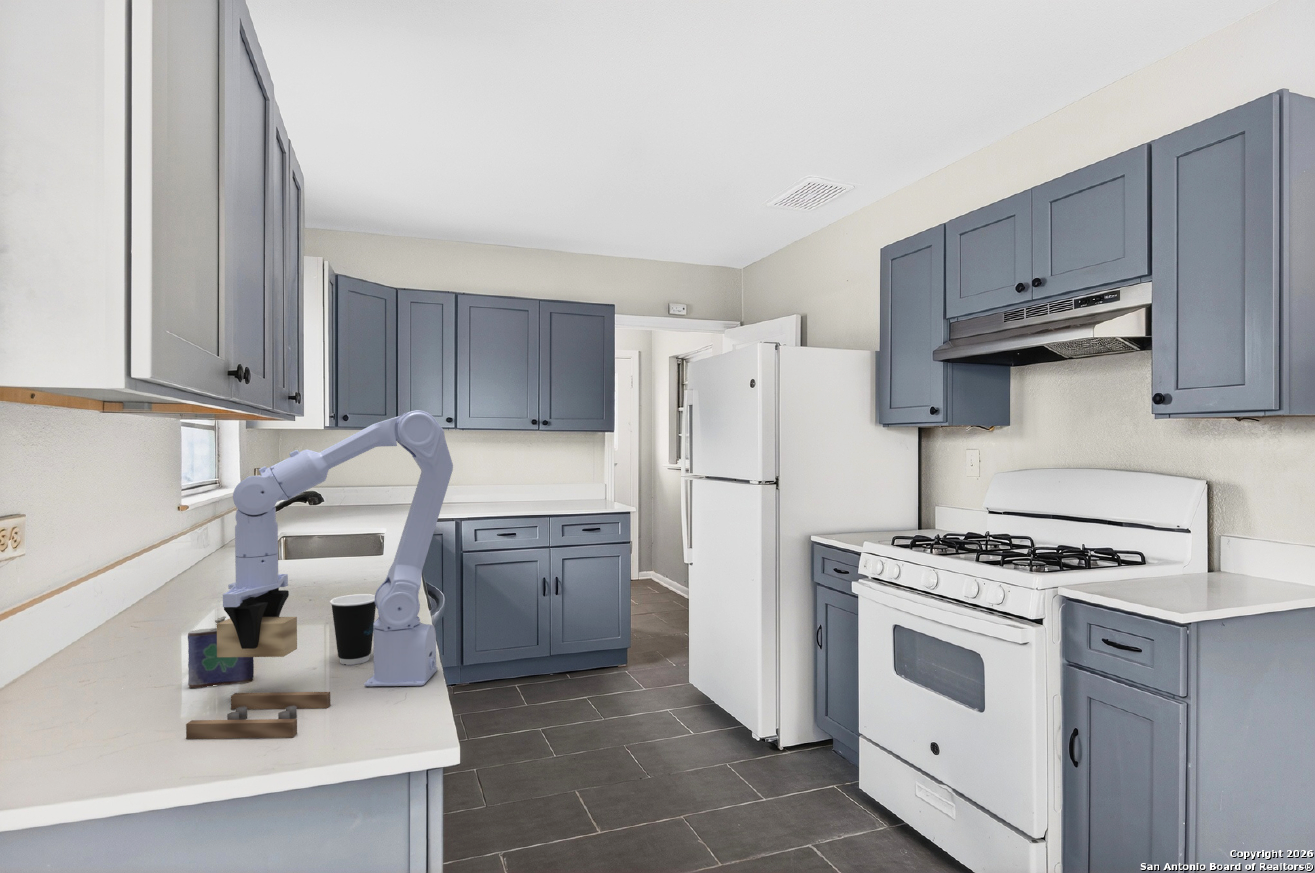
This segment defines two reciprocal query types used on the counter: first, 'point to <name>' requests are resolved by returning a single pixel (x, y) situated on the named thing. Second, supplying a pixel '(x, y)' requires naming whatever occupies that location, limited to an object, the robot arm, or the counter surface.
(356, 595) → the dixie cup
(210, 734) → the peg frame
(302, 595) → the counter surface
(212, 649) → the flask
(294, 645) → the light wooden block
